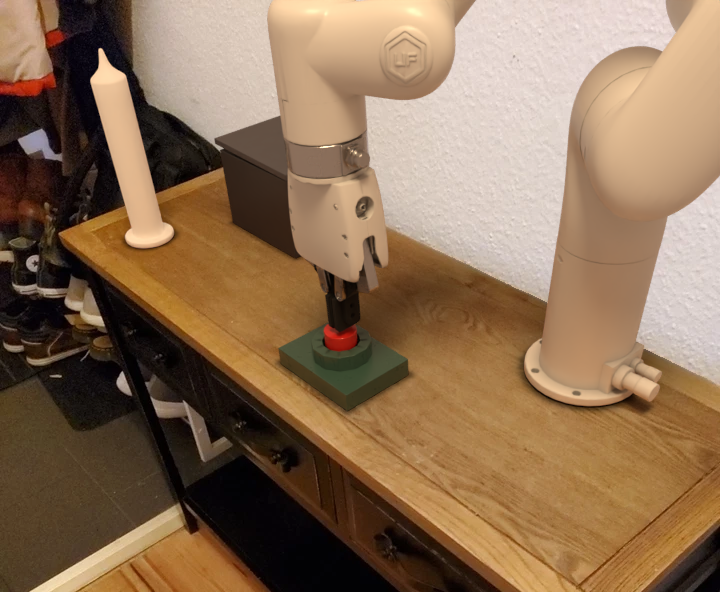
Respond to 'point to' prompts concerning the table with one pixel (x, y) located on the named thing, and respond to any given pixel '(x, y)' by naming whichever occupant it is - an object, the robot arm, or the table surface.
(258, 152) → the lid
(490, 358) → the table surface
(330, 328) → the red button
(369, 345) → the control block
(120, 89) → the candle
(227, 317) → the table surface
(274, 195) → the open storage bin
